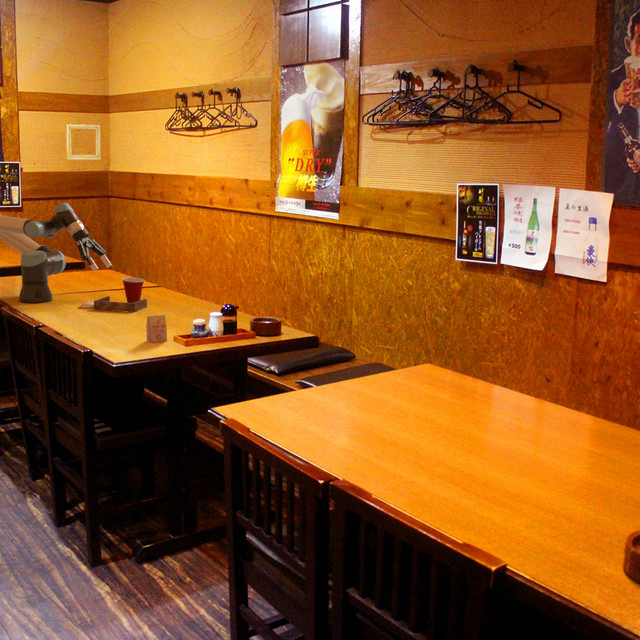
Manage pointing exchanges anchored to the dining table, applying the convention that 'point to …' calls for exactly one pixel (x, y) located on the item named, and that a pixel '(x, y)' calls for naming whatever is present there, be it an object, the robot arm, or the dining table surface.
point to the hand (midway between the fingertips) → (103, 268)
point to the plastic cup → (133, 288)
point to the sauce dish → (87, 305)
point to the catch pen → (119, 305)
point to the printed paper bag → (156, 329)
